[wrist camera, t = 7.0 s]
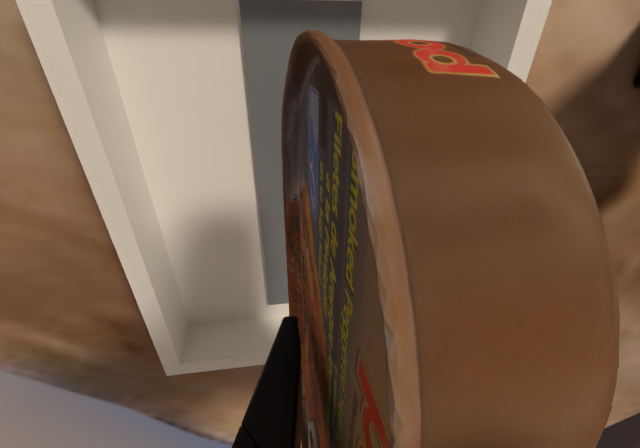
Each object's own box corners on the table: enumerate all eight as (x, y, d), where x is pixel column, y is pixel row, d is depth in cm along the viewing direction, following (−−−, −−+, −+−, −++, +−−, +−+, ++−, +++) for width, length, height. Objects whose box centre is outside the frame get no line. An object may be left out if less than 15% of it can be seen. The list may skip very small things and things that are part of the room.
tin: (274, 29, 8) (351, 34, 1) (399, 31, 8) (1253, 45, 1) (292, 394, 16) (314, 705, 8) (356, 386, 16) (429, 676, 9)
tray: (506, -65, 14) (581, -90, 11) (417, 301, 26) (439, 343, 22) (49, -89, 12) (-37, -131, 8) (180, 324, 24) (166, 375, 20)
